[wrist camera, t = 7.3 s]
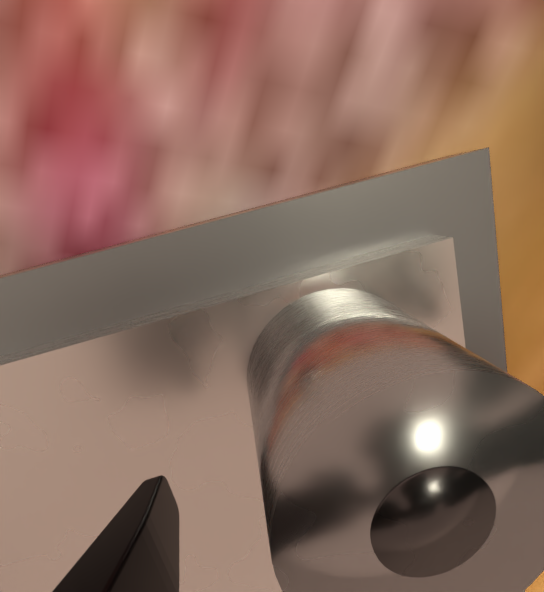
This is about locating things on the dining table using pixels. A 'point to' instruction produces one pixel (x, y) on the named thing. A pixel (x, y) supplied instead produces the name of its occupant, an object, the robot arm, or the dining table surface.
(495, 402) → the cylinder
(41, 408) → the kitchen scale
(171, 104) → the dining table surface
